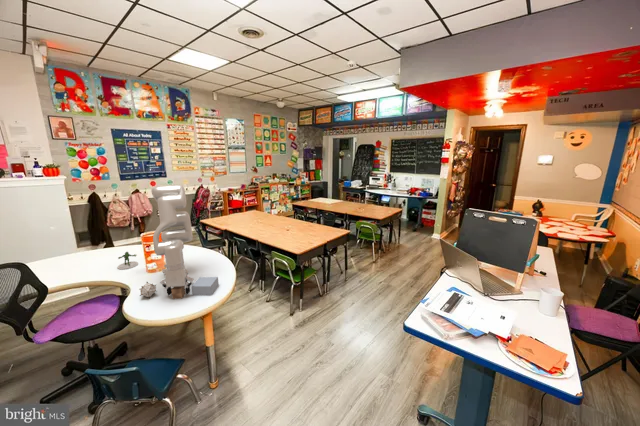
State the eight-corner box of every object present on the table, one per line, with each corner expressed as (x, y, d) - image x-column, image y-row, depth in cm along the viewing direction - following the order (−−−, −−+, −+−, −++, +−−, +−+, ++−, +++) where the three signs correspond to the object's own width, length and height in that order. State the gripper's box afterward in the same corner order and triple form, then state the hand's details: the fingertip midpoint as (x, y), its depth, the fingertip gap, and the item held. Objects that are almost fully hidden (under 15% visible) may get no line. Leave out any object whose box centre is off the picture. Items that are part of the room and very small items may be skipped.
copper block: (172, 299, 140) (171, 289, 138) (176, 294, 145) (175, 284, 143) (182, 298, 140) (180, 289, 139) (185, 293, 145) (184, 284, 144)
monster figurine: (139, 261, 188) (137, 248, 185) (136, 267, 177) (133, 254, 175) (120, 264, 183) (117, 251, 180) (115, 271, 172) (112, 257, 170)
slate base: (192, 295, 144) (191, 286, 142) (200, 285, 154) (199, 276, 153) (211, 295, 144) (210, 286, 142) (218, 285, 154) (217, 276, 153)
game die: (148, 301, 144) (146, 284, 147) (162, 295, 144) (159, 278, 147) (136, 302, 136) (133, 284, 139) (150, 296, 136) (147, 278, 139)
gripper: (154, 270, 133) (159, 298, 137) (188, 268, 135) (192, 296, 139) (161, 264, 141) (165, 291, 145) (193, 262, 143) (197, 289, 147)
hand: (178, 293), depth 142 cm, fingers open, 9 cm apart
